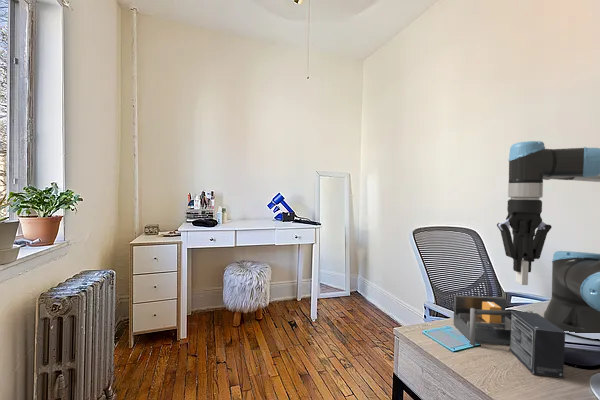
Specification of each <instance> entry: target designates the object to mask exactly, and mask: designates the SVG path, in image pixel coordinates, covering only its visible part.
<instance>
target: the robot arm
mask: <svg viewBox="0 0 600 400" xmlns="http://www.w3.org/2000/svg"><path fill="white" fill-rule="evenodd" d="M507 160H508V184H507V187H508V188H507V198H510V199H508V200H507V207H506V208H507V209H506V210H507V215H506V218H505V220H504V221H503V222H498V223H497V224H496V227H497V229H498V230H499V231H500V234H501V239H502V244H503V247H504V248H503V249H504V252H505V256H506V257H507V258H511V259H512V260H513V264H512V265H513V267H512V269H513V271H514V272H515V283H517V284H519V285H521V286H528V285H529V273H531V272H532V263H534V262H535V260H539V259H540V258H541V255H542V251H543V248H544V245H545V242H546V238H547V235H548V234H549V232H550V231H551V229H552V225H551V224H548V223H545V222H544V221H543V218H542V216H541V214H542V211H543V201H542V200H541V199H542V198H543V196H544V195H543V194H544V193H543V192H544V189H543V188H544V181H549V180H559V181H577V182H580V181H581V182H593V183H600V148H599V147H587V146H584V147H571V148H554V149H553V148H546V146H545V143H544V142H543V141H541V140H540V141H539V140H537V141H536V140H533V141H532V140H529V141H519V142H516V143H513V144H511V146H510V147H509V156H508V159H507ZM510 229H512V230H510ZM511 231H512V232H511ZM551 263H552V267H551V298H550V301H549V303H548V304H547V307H546V309H545V311H543V318H545V319H546V320H548V321H549V322H551V323H552V324H554V325H555V326H557V327H558V328H560V329H561V330H563V331H569V332H575V333H600V253H596V252H595V253H594V252H584V251H583V252H581V251H570V250H567V251H566V250H556V251H554V253H553V255H552V260H551Z"/></svg>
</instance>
